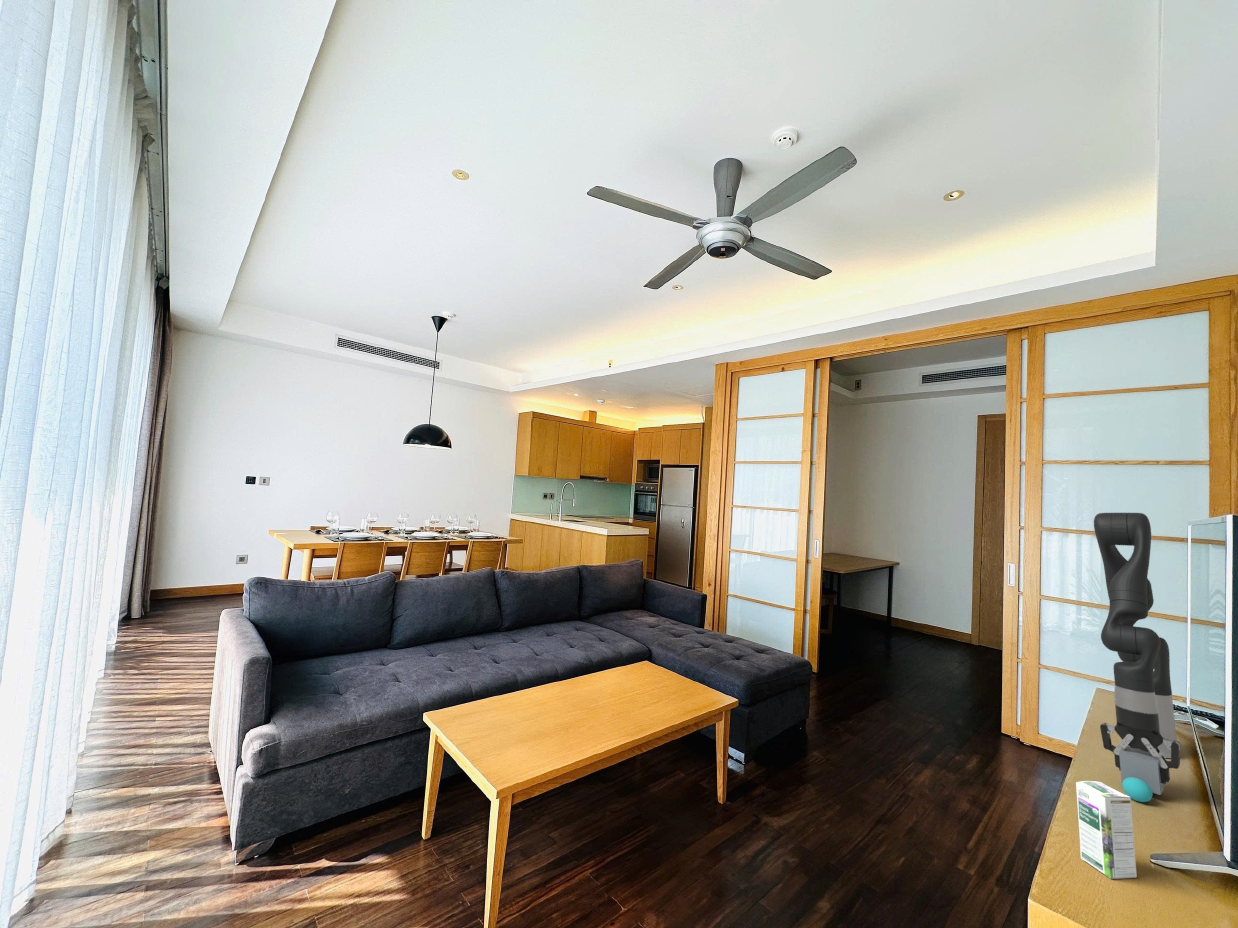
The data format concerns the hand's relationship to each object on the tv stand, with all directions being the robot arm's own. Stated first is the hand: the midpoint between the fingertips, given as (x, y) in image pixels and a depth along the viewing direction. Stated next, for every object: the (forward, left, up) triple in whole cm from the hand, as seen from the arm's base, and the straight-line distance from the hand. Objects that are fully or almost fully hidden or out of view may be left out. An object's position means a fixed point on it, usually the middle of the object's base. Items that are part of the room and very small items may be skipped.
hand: (1142, 775), depth 122 cm
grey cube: (0, 0, -2) cm, 2 cm away
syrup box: (+46, +1, -4) cm, 46 cm away
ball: (+7, 0, -1) cm, 7 cm away
